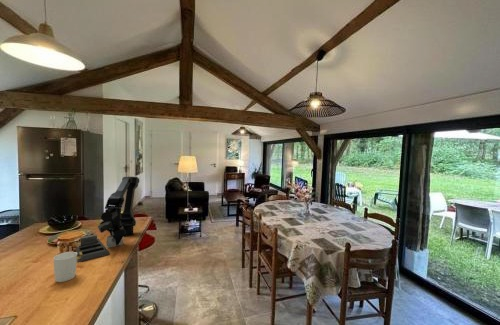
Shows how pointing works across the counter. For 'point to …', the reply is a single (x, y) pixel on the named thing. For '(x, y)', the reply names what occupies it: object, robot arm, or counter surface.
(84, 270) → the counter surface
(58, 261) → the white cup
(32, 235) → the counter surface
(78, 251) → the rack
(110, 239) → the panel
